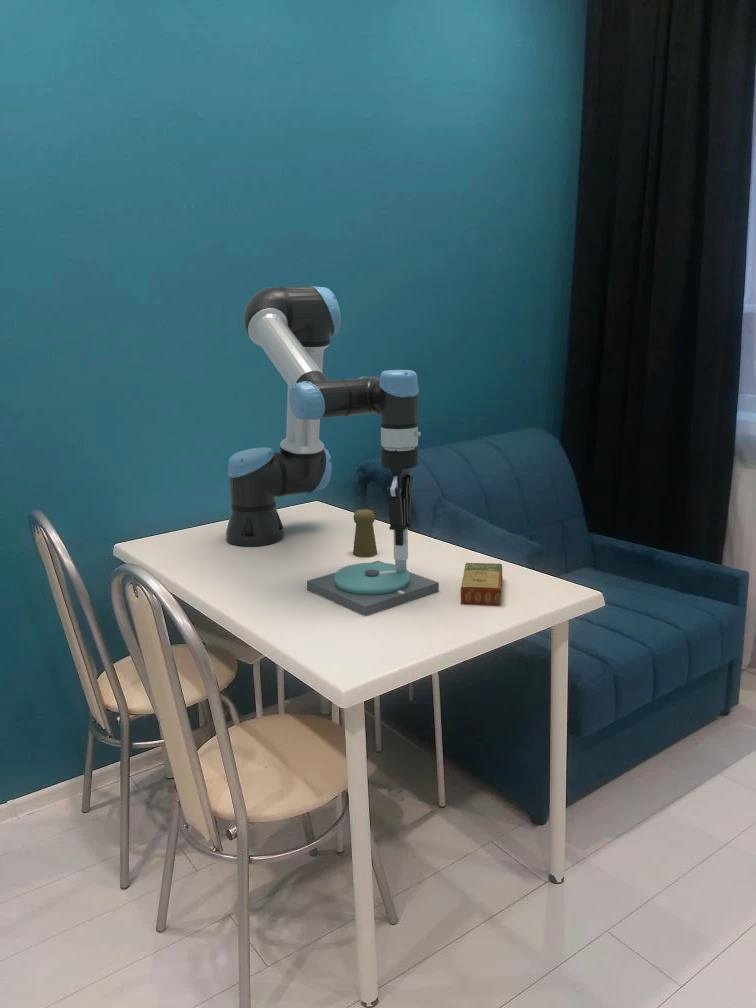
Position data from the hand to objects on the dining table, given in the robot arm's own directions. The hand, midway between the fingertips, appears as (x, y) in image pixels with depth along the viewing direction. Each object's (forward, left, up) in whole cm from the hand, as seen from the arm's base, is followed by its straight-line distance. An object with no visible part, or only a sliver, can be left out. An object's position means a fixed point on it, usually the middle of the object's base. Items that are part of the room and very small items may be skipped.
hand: (400, 558), depth 163 cm
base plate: (-5, -4, -8) cm, 10 cm away
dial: (-5, -4, -5) cm, 8 cm away
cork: (-26, +11, -8) cm, 29 cm away
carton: (+11, +13, -8) cm, 19 cm away
